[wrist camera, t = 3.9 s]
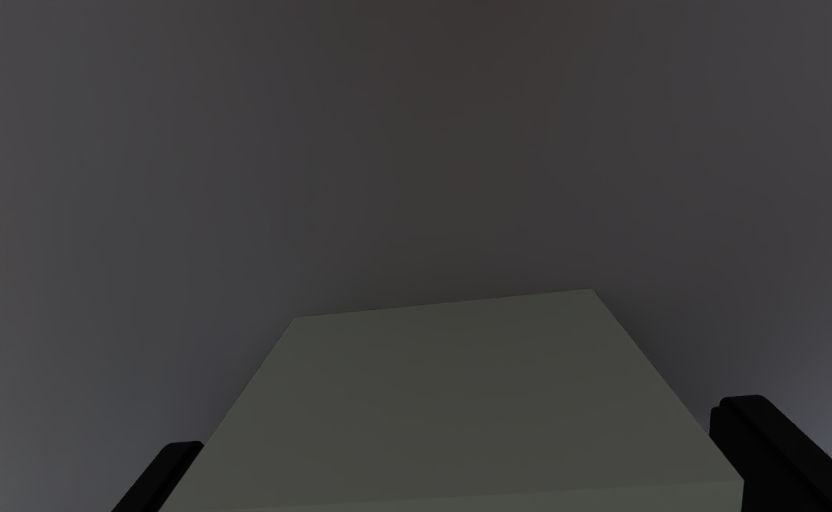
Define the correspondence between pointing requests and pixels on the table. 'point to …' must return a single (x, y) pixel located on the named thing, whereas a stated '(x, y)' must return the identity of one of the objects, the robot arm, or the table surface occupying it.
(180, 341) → the table surface
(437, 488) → the sage brick
